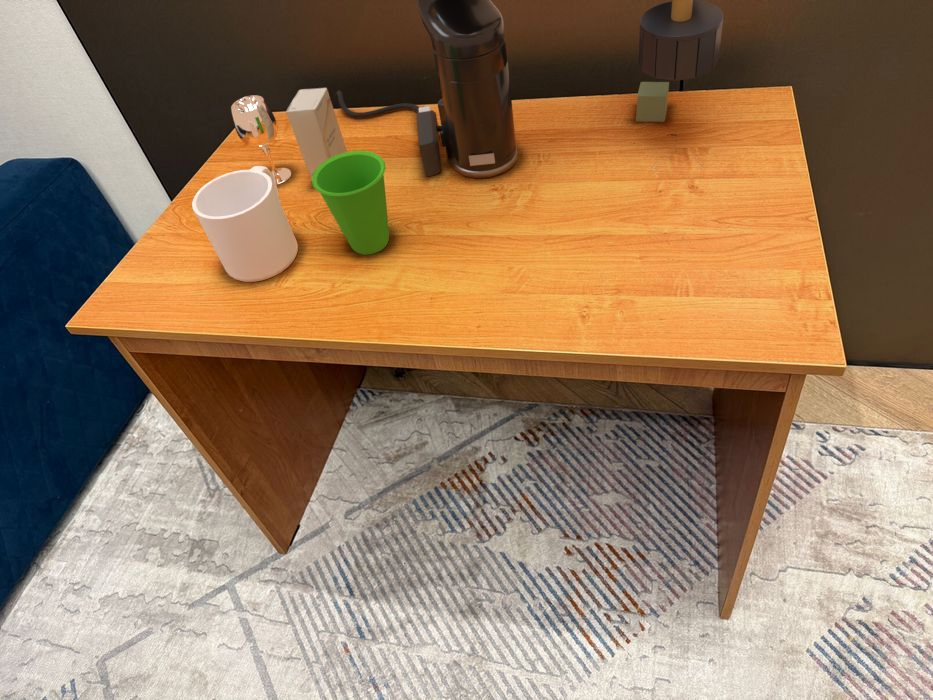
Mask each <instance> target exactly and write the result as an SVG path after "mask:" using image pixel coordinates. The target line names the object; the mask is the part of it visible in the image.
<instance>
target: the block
mask: <svg viewBox="0 0 933 700" xmlns="http://www.w3.org/2000/svg"><path fill="white" fill-rule="evenodd" d="M669 91H670V82H669V81H640V84H639V88H638V92H637V95H636V114H635V115H636V117H635V121H636V122H649V123H650V122H652V123H653V122H655V123H656V122H657V123H665V121H666V115H667V111H668V104H669Z"/></svg>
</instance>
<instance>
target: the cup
mask: <svg viewBox="0 0 933 700" xmlns="http://www.w3.org/2000/svg"><path fill="white" fill-rule="evenodd" d="M386 168H387V167H386V162H385V160H384V159H383V157H381V156H379V154H377V153H375V152H372V151H369V150H352V151H347V152H345V153H342V154H338V155H336V156H334V157H331V158H329V159H328V160H326V161H324V162H323V163H322V164H321V165H320V166H318V168H317V169H316V170H315V172H314V174H313V177H312V180H311V184H312V187H313V189H315V191H317V192H318V193H319V194H320V196H321V197H322V199H323V200H324V202H325V204H326V205H327V208H328V210H329V211H330V213H331V215H332V216H333V218H334V220H335V221H336V224H337V225H338V227H339V228H340V230H341V233H342V234H343V235H344V237H345V239H346V241H347V243H348V244H349V246H350V248H351V249H352V250H353V251H354V252H356V254H358V255H366V256H368V255H374V254H377V253H379V252H380V251H382V250H384V249H385V248H386V247H387V245H388V244H389V240H390V228H389V217H388V206H387V195H386V185H385V172H386Z"/></svg>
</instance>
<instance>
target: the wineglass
mask: <svg viewBox="0 0 933 700" xmlns="http://www.w3.org/2000/svg"><path fill="white" fill-rule="evenodd" d="M230 111H231V117H232V122H233V126H234V129H235V131H236V134H237V136H238V137H239V139H240V140H241V142H242V143H243V144H245V145H246V146H248V147H250V148H257V149H258V148H261V149H262V153H263V155H264V156H265V157H266V158H267V160H268V162H269V165H270V167H271V170H270V172H271V173H272V175H273V177H274V179H275V182H276V185H277V186H278V185H281V184H284V183H286V182H287V181H288V180H289V179H290V178H291V176H292V171H291V169H290V168H287V167H276V166H275V165H274V161H273V159H272V154H271V150H270V148H269V147H270V146H269V145H270V144H272V143H273V142H274V141H275V140H276V138H277V136H278V132H279V126H278V122H277V119H276V117H275V115H274V113H273V111H272V109H271V108H270V106H269V105H268V103H267V101H266V100H265V99H264V97H263V96H260V95H257V94H256V95H254V94H253V95H247V96H244V97H240V98H239V99H237V100H236V101H234V102H233V103H232V105H231V106H230Z"/></svg>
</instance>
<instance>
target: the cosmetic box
mask: <svg viewBox="0 0 933 700" xmlns="http://www.w3.org/2000/svg"><path fill="white" fill-rule="evenodd" d="M285 113H286V116H287V118H288V121H289V123H290V126H291V129H292V132H293V134H294V138H295V140H296V143H297V145H298V148H299V151H300V154H301V156H302V159H303V161H304V164H305V167H306V170H307V172H308V175H309V178H310V180H311V181H312V177H313V174H314V172H315V170H316V169H317V168H318V166H320V165H321V164H322V163H323V162H324V161H326V160H328V159H329V158H331V157H334V156H336V155H338V154H342V153H345V152H348V149H347V147H346V144H345V140H344V137H343V134H342V131H341V127H340V124H339V121H338V119H337V115H336V112H335V109H334V106H333V102H332V100H331V97H330V94H329V89H328V88H327V87H318V88H316V87H315V88H303V89H299V90H298V91H297V93H296V94H295V96H294V97H293V99H292V101H291V102H290V104H289V105H288V107H287V109H286V111H285Z"/></svg>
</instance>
